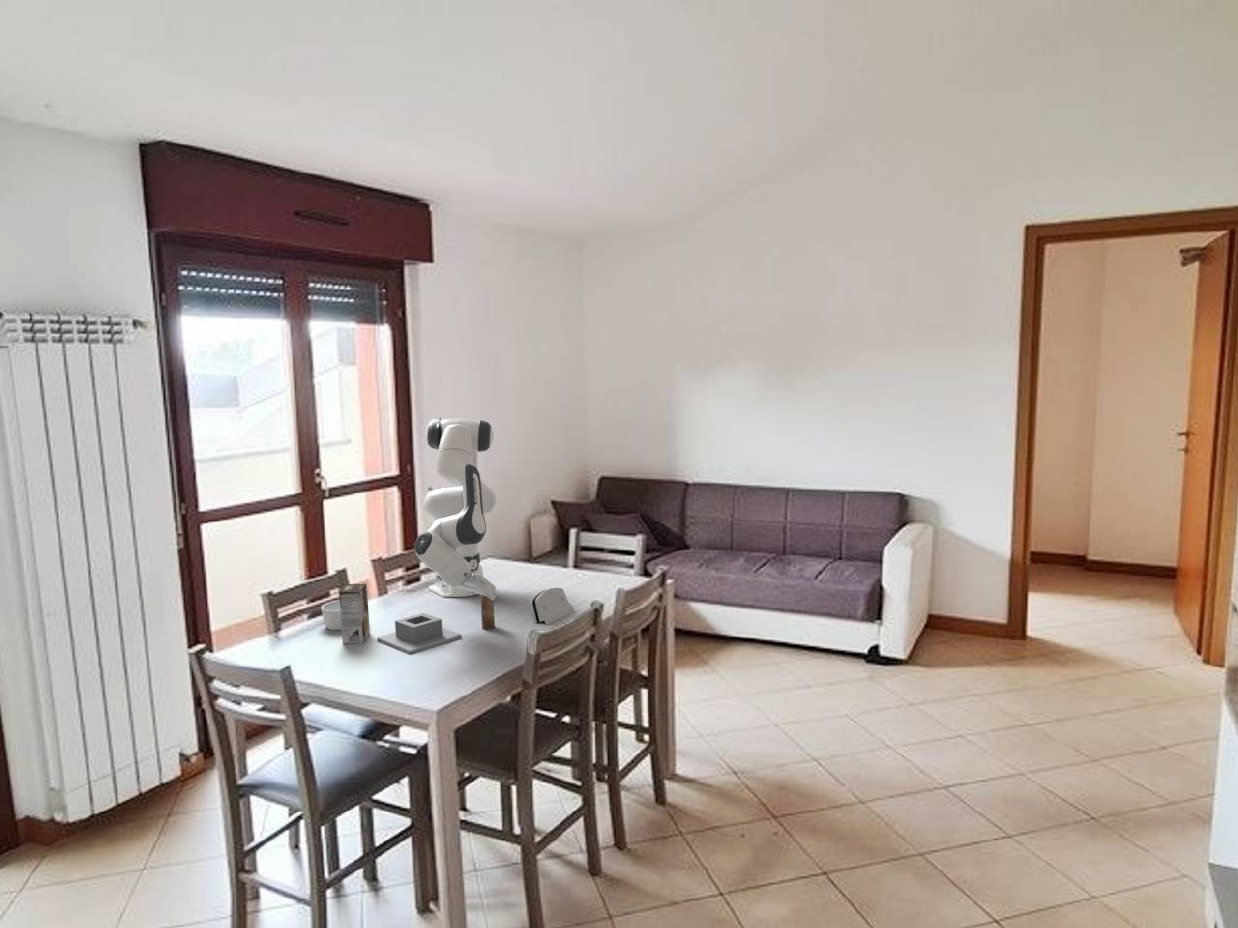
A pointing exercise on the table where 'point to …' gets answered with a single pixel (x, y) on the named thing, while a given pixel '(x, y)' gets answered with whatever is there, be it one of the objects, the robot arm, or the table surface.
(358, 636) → the coffee box
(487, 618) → the pin
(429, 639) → the socket block
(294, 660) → the table surface
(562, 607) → the hinge
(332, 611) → the ramekin
